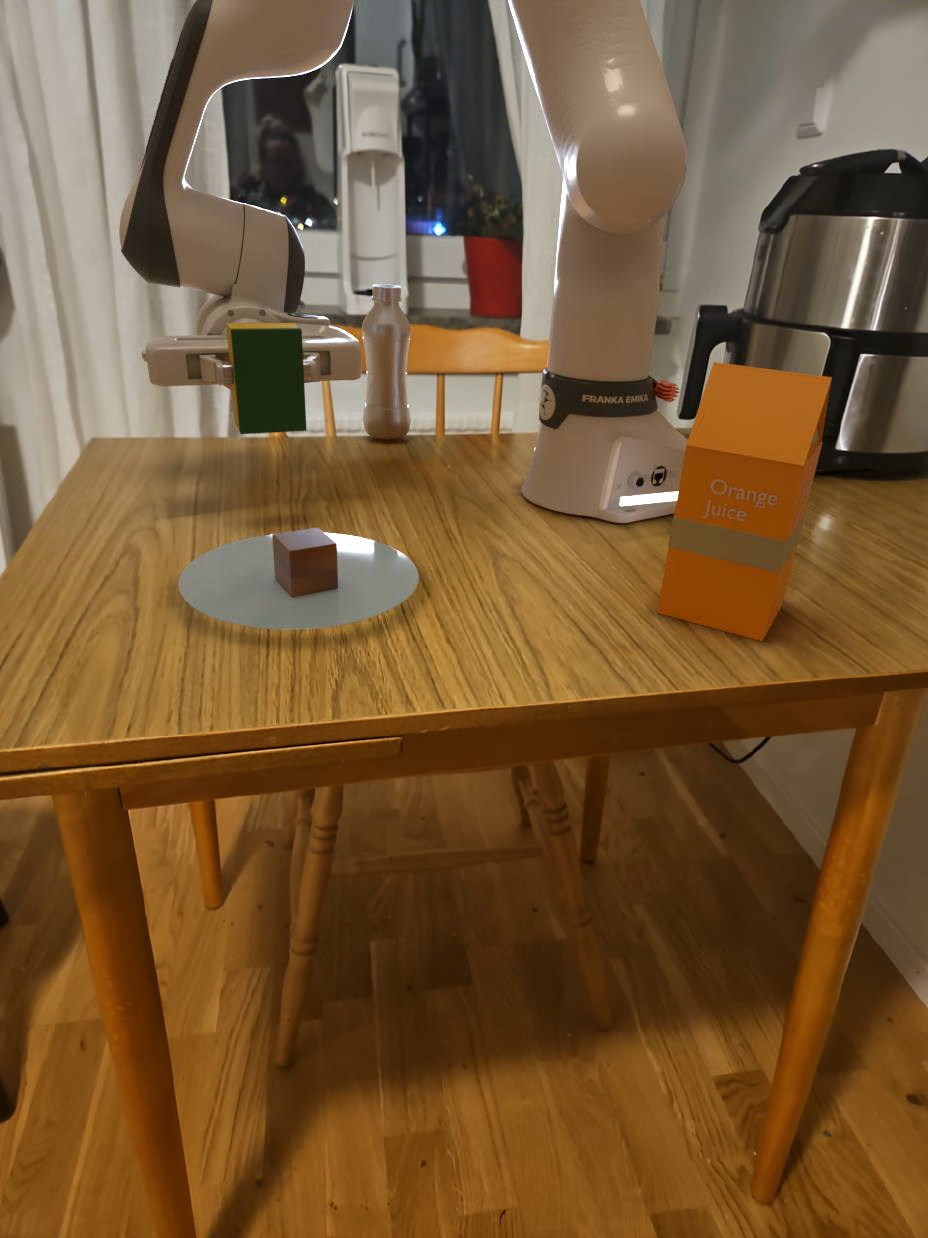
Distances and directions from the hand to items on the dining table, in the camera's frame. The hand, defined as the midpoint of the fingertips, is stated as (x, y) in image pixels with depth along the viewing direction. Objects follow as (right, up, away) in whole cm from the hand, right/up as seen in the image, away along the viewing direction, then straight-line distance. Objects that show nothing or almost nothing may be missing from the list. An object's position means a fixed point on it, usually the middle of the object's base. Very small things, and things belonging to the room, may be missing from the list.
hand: (268, 374), depth 73 cm
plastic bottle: (+7, +3, +42) cm, 42 cm away
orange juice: (+39, -22, -4) cm, 45 cm away
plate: (+4, -19, -3) cm, 20 cm away
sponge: (-1, -4, +3) cm, 5 cm away
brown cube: (+4, -19, -6) cm, 20 cm away
